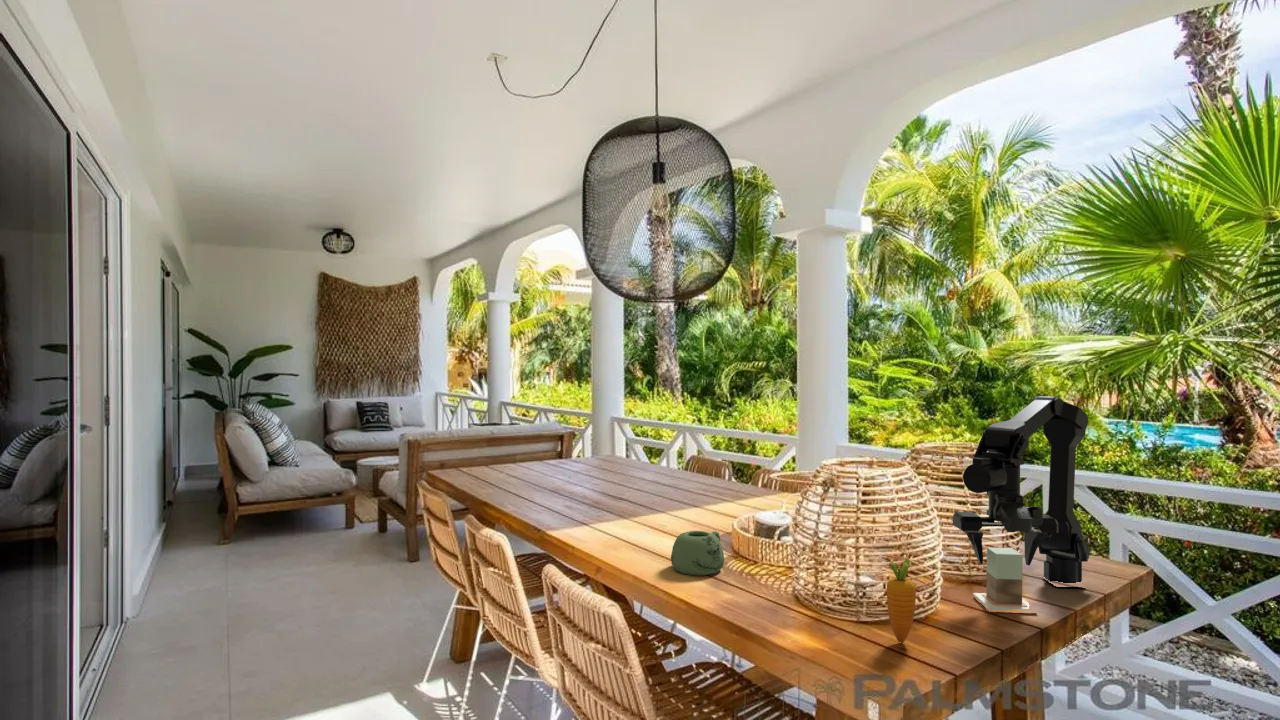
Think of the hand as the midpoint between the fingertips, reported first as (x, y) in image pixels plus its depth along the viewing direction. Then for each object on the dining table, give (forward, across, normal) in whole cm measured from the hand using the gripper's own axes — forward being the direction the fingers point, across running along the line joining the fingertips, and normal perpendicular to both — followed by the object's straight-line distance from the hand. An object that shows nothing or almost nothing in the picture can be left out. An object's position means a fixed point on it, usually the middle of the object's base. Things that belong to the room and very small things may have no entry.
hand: (1004, 564), depth 146 cm
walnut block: (+7, 0, 0) cm, 7 cm away
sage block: (+2, 0, 0) cm, 2 cm away
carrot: (+9, -26, -22) cm, 35 cm away
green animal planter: (+9, -62, +20) cm, 66 cm away
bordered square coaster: (+8, 0, 0) cm, 8 cm away
